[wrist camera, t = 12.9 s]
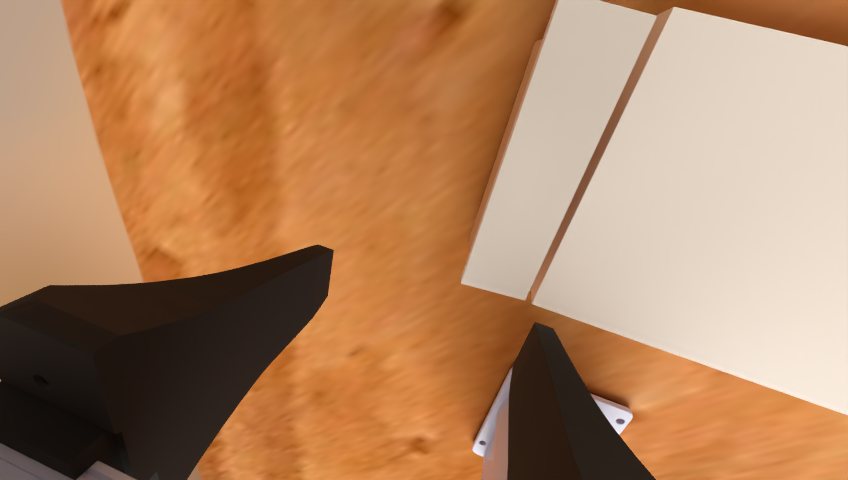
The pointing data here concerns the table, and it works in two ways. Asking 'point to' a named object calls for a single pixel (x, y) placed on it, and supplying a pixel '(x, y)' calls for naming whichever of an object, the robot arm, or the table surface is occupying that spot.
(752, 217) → the carton
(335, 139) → the table surface
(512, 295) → the flap
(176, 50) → the table surface
